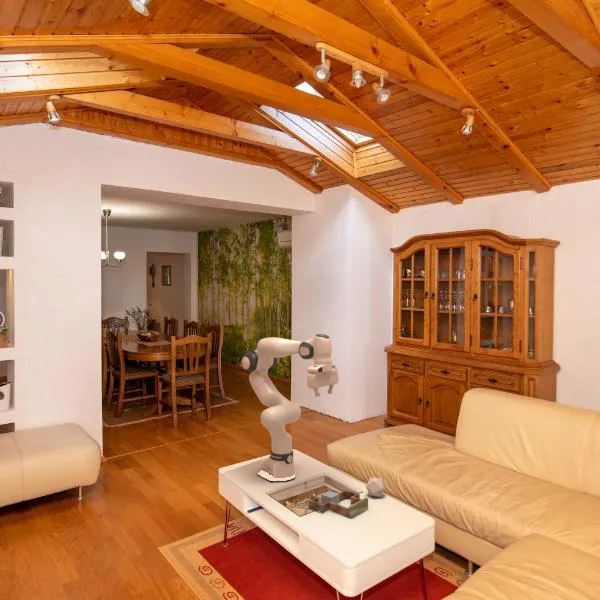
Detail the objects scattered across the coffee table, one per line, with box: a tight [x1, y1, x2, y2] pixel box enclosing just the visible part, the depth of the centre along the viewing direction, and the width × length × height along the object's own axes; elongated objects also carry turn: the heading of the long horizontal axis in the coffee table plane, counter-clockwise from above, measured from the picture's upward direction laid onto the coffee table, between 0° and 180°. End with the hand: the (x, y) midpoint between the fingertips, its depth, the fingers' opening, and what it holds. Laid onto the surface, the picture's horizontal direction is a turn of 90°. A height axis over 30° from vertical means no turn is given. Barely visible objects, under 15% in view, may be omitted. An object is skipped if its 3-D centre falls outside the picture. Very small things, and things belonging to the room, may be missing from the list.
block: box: [320, 491, 341, 505], centre depth 224 cm, size 6×6×4 cm
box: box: [308, 487, 369, 519], centre depth 221 cm, size 24×21×5 cm
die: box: [365, 476, 387, 498], centre depth 232 cm, size 8×9×10 cm
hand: (323, 395), depth 238 cm, fingers open, 8 cm apart
